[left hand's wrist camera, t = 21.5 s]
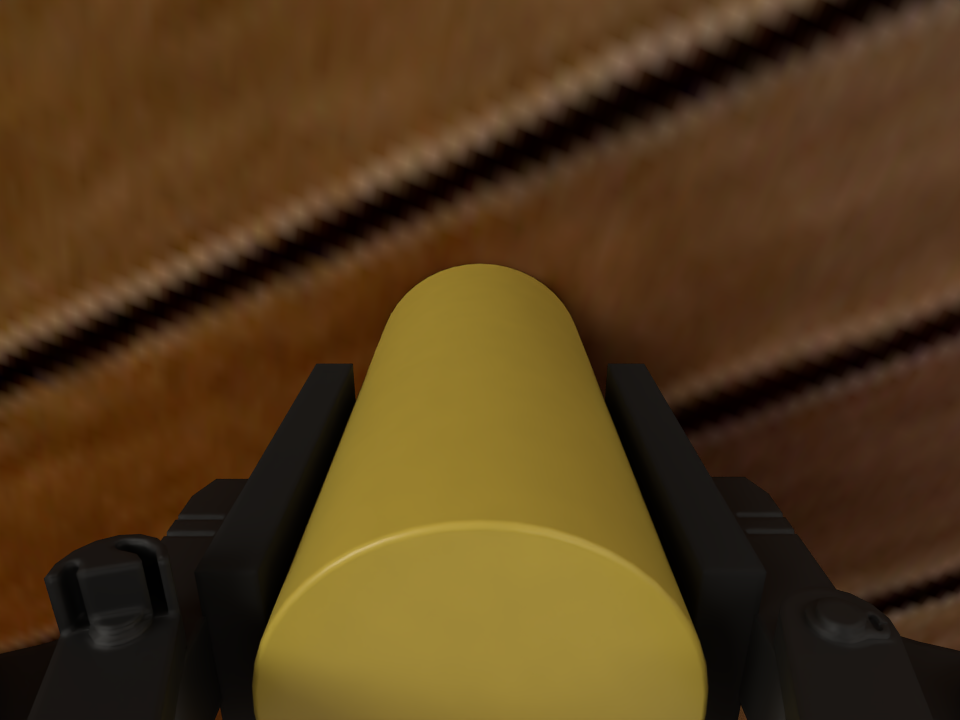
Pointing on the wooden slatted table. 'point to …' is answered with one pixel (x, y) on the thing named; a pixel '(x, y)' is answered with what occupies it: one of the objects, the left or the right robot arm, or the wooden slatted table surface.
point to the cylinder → (480, 536)
